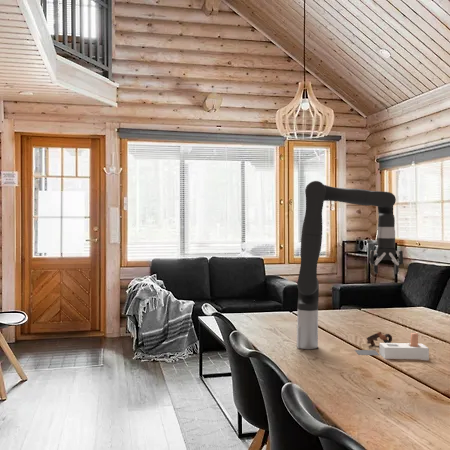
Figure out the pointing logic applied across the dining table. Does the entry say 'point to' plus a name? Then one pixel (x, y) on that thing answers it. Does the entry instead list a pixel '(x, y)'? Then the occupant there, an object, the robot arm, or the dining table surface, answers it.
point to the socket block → (403, 351)
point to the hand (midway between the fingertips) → (386, 273)
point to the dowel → (414, 340)
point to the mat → (366, 352)
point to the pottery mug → (379, 335)
